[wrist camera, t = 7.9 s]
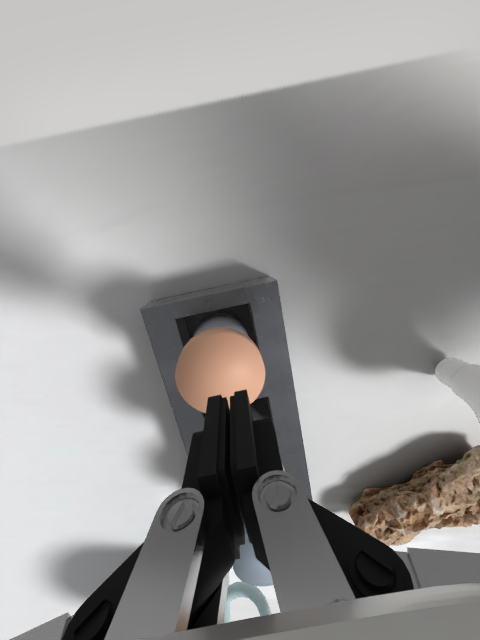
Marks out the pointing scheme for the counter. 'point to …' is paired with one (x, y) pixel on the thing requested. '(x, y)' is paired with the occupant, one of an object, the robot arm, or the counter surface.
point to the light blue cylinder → (251, 567)
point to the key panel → (270, 340)
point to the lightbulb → (461, 380)
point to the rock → (422, 501)
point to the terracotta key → (219, 362)
